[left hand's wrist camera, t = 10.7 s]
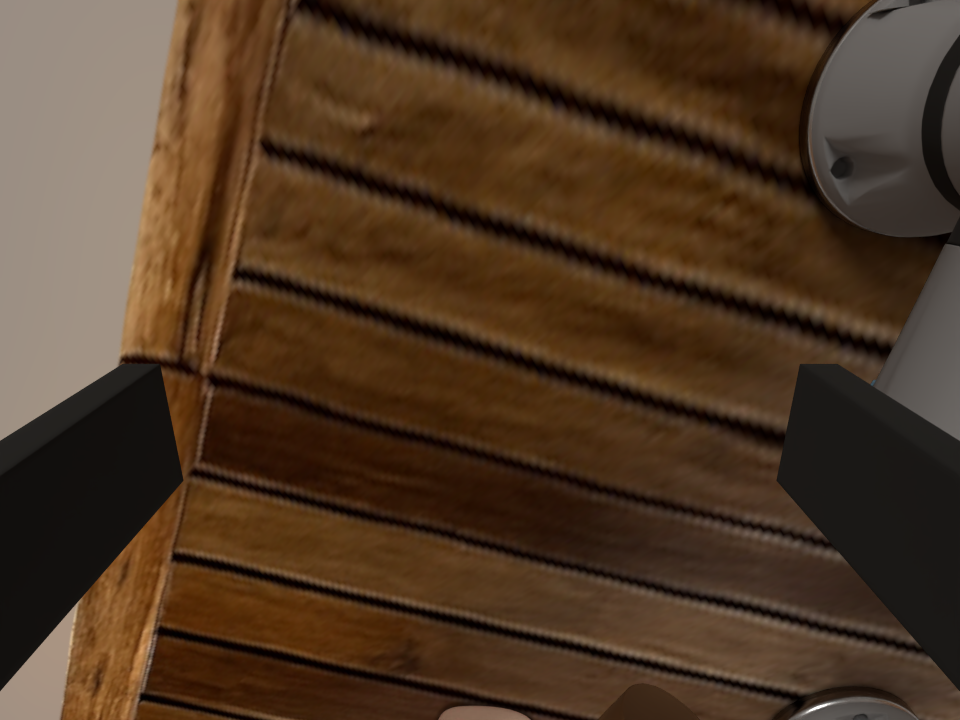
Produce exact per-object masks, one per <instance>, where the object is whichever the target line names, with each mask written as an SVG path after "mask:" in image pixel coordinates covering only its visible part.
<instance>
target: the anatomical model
mask: <svg viewBox="0 0 960 720" xmlns="http://www.w3.org/2000/svg"><path fill="white" fill-rule="evenodd" d="M438 720H530V719H529V718H528V717H527V716H525V715H523V714H521V713H519V712H517V711H513V710H510V709H505V708H499V707H491V706H458V707H453V708H450V709H448V710H446V711H444V712H443V713H442V714H441V716H440V717H439V719H438Z"/></svg>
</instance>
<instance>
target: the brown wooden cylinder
mask: <svg viewBox="0 0 960 720" xmlns="http://www.w3.org/2000/svg"><path fill="white" fill-rule="evenodd" d="M598 720H699V718H698V717H697V716H696V715H695V714H694V713H693V712H692V711H691V710H690V709H688V708H687V707H686V706H685V705H684V704H683V703H682V702H680V701H679V700H678V699H676V698H675V697H674V696H672V695H671V694H669V693H667V692H666V691H664V690H662V689H660V688H658V687H655V686H652V685H649V684H636V685H633V686H631V687H629V688H628V689H627V690H626V691H625V692H624V693H623V694H622V695H621V696H620V697H619V698H618V699H617V700H616V701H615V702H614V703H613V704H612V705H611V706H610V708H609V709H608V710H607V711H606V712H605V713H604V714H603V715H602V716H601V717H600V718H599V719H598Z"/></svg>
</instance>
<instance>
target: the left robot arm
mask: <svg viewBox="0 0 960 720" xmlns="http://www.w3.org/2000/svg"><path fill="white" fill-rule="evenodd" d="M799 142H800V153H801V158H802V163H803V167H804V170H805V173H806V176H807V178H808V181H809V183H810V185H811V187H812V189H813V190H814V192H815V194H816V195H817V197H818V198H819V199H820V201H821V202H822V203H823V204H824V205H825V206H826V207H827V208H828V209H829V210H830V211H831V212H832V213H833V214H834V215H836V216H837V217H838V218H840V219H841V220H843V221H845V222H846V223H848V224H850V225H852V226H855V227H857V228H860V229H863V230H866V231H871V232H875V233H879V234H883V235H888V236H896V237H923V236H933V235H939V234H944V233H949V232H952V233H951V235H950V237H949V239H948V241H947V242H946V244H945V245H944V247H943V249H942V251H941V253H940V255H939V257H938V259H937V261H936V263H935V265H934V267H933V269H932V271H931V273H930V275H929V277H928V279H927V281H926V283H925V285H924V287H923V289H922V291H921V293H920V295H919V297H918V299H917V301H916V303H915V305H914V307H913V309H912V311H911V313H910V315H909V317H908V319H907V321H906V323H905V325H904V327H903V329H902V331H901V333H900V335H899V337H898V339H897V341H896V343H895V345H894V347H893V349H892V351H891V353H890V355H889V357H888V358H887V360H886V362H885V364H884V366H883V368H882V370H881V372H880V374H879V375H878V377H877V379H876V380H874V381H872V383H871V384H868V383H867V382H865V381H864V380H862V379H860V378H859V377H857V376H856V375H854V374H852V373H851V372H849V371H848V370H846V369H844V368H843V367H841V366H840V365H838V364H800V367H799V372H798V377H797V382H796V387H795V392H794V397H793V402H792V407H791V412H790V416H789V421H788V426H787V431H786V436H785V441H784V446H783V451H782V456H781V461H780V466H779V471H778V476H777V482H778V483H779V484H780V485H781V486H782V487H783V489H784V490H785V491H786V492H787V493H788V494H789V495H790V497H791V498H792V499H793V500H794V501H795V502H796V503H797V505H798V506H799V507H800V508H801V509H802V510H803V512H804V513H805V514H806V515H807V516H808V517H809V518H810V520H811V521H812V522H813V523H814V524H815V525H816V526H817V528H818V529H819V530H820V531H821V532H822V533H823V534H824V536H825V537H826V538H827V539H828V540H829V541H830V543H831V544H832V545H833V546H834V547H835V548H836V549H837V551H838V552H839V553H840V554H841V555H842V556H843V557H844V559H845V560H846V561H847V562H848V563H849V564H850V566H851V567H852V568H853V569H854V570H855V571H856V572H857V574H858V575H859V576H860V577H861V578H862V579H863V580H864V582H865V583H866V584H867V585H868V586H869V587H870V588H871V590H872V591H873V592H874V593H875V594H876V595H877V597H878V598H879V599H880V600H881V601H882V602H883V603H884V605H885V606H886V607H887V608H888V609H889V610H890V611H891V613H892V614H893V615H894V616H895V617H896V618H897V619H898V621H899V622H900V623H901V624H902V625H903V626H904V628H905V629H906V630H907V631H908V632H909V633H910V634H911V636H912V637H913V638H914V639H915V640H916V641H917V642H918V644H919V645H920V646H921V647H922V648H923V649H924V651H925V652H926V653H927V654H928V655H929V656H930V657H931V659H932V660H933V661H934V662H935V663H936V664H937V665H938V667H939V668H940V669H941V670H942V671H943V672H944V673H945V675H946V676H947V677H948V678H949V679H950V680H951V682H952V683H953V684H954V685H955V686H956V687H957V688H958V690H959V691H960V0H872V1H870V2H869V3H868V4H867V5H865V6H864V7H863V8H862V9H861V10H859V11H858V12H857V13H856V14H855V15H854V16H853V17H852V18H851V19H850V20H849V21H848V22H847V23H846V24H845V25H844V26H843V27H842V29H841V30H840V31H839V32H838V34H837V35H836V36H835V37H834V39H833V40H832V41H831V43H830V44H829V46H828V47H827V49H826V50H825V52H824V54H823V55H822V57H821V59H820V61H819V62H818V64H817V66H816V69H815V71H814V73H813V75H812V77H811V80H810V83H809V85H808V88H807V91H806V94H805V98H804V102H803V106H802V111H801V118H800V128H799ZM182 482H183V476H182V471H181V466H180V461H179V456H178V451H177V446H176V441H175V436H174V431H173V426H172V421H171V416H170V412H169V407H168V402H167V397H166V392H165V387H164V382H163V377H162V372H161V367H160V364H122V365H120V366H119V367H117V368H116V369H114V370H112V371H111V372H109V373H108V374H106V375H104V376H103V377H101V378H100V379H98V380H96V381H95V382H93V383H92V384H90V385H88V386H87V387H85V388H84V389H82V390H81V391H79V392H77V393H76V394H74V395H73V396H71V397H69V398H68V399H66V400H65V401H63V402H61V403H60V404H58V405H57V406H55V407H53V408H52V409H50V410H49V411H47V412H45V413H44V414H42V415H41V416H39V417H37V418H36V419H34V420H33V421H31V422H29V423H28V424H26V425H25V426H23V427H22V428H20V429H18V430H17V431H15V432H14V433H12V434H10V435H9V436H7V437H6V438H4V439H2V440H1V441H0V691H1V690H2V688H3V687H4V686H5V685H6V684H7V683H8V682H9V680H10V679H11V678H12V677H13V676H14V675H15V673H16V672H17V671H18V670H19V669H20V668H21V667H22V665H23V664H24V663H25V662H26V661H27V660H28V659H29V657H30V656H31V655H32V654H33V653H34V652H35V651H36V649H37V648H38V647H39V646H40V645H41V644H42V642H43V641H44V640H45V639H46V638H47V637H48V636H49V634H50V633H51V632H52V631H53V630H54V629H55V628H56V626H57V625H58V624H59V623H60V622H61V621H62V619H63V618H64V617H65V616H66V615H67V614H68V613H69V611H70V610H71V609H72V608H73V607H74V606H75V605H76V603H77V602H78V601H79V600H80V599H81V598H82V597H83V595H84V594H85V593H86V592H87V591H88V590H89V588H90V587H91V586H92V585H93V584H94V583H95V582H96V580H97V579H98V578H99V577H100V576H101V575H102V574H103V572H104V571H105V570H106V569H107V568H108V567H109V566H110V564H111V563H112V562H113V561H114V560H115V559H116V557H117V556H118V555H119V554H120V553H121V552H122V551H123V549H124V548H125V547H126V546H127V545H128V544H129V543H130V541H131V540H132V539H133V538H134V537H135V536H136V534H137V533H138V532H139V531H140V530H141V529H142V528H143V526H144V525H145V524H146V523H147V522H148V521H149V520H150V518H151V517H152V516H153V515H154V514H155V513H156V512H157V510H158V509H159V508H160V507H161V506H162V505H163V503H164V502H165V501H166V500H167V499H168V498H169V497H170V495H171V494H172V493H173V492H174V491H175V490H176V489H177V487H178V486H179V485H180V484H181V483H182Z"/></svg>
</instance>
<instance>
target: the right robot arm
mask: <svg viewBox="0 0 960 720" xmlns="http://www.w3.org/2000/svg"><path fill="white" fill-rule="evenodd" d="M772 720H919V719H918V718H917V717H916V715H915V714H914V713H913V711H912V710H911V709H910V708H909V706H908V705H907V704H906V703H904V702H903V701H902V700H901V699H899V698H898V697H896V696H894V695H892V694H890V693H887V692H885V691H882V690H878V689H874V688H868V687H840V688H833V689H828V690H824V691H820V692H817V693H814V694H811V695H808V696H806V697H804V698H802V699H799V700H798V701H796V702H794V703H792V704H791V705H789V706H788V707H786V708H785V709H783V710H782V711H781V712H779V713H778V714H777V715H776V716H775V717H774V718H773V719H772Z"/></svg>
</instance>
